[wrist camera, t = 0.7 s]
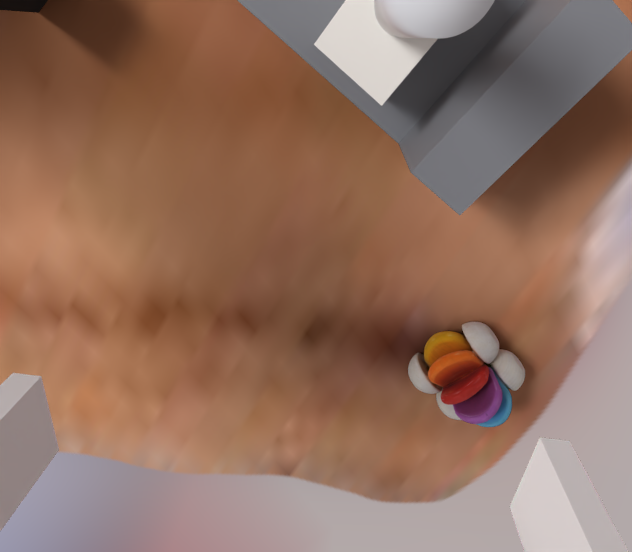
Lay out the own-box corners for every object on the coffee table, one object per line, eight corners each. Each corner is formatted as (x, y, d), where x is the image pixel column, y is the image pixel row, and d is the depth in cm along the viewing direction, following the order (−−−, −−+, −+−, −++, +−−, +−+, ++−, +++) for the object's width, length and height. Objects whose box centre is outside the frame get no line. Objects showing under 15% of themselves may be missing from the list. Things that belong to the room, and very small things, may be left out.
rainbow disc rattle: (468, 300, 41) (489, 349, 35) (528, 366, 44) (558, 422, 38) (394, 350, 44) (401, 403, 38) (455, 409, 47) (470, 467, 41)
